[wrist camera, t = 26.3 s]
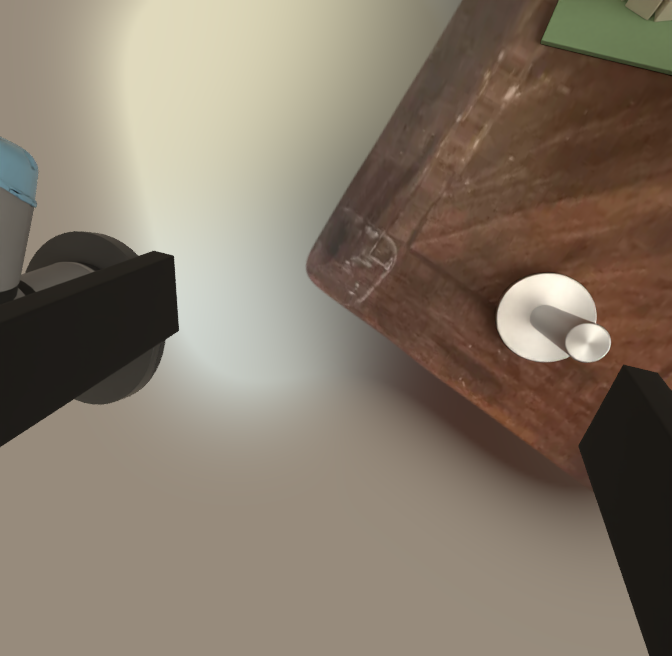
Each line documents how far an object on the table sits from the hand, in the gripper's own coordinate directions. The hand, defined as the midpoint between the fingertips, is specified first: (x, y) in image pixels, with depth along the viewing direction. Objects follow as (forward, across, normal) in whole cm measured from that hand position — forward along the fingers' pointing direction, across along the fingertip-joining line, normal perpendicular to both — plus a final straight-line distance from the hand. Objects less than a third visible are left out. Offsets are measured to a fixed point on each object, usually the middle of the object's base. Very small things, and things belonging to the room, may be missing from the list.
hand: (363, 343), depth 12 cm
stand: (+27, +12, -8) cm, 31 cm away
